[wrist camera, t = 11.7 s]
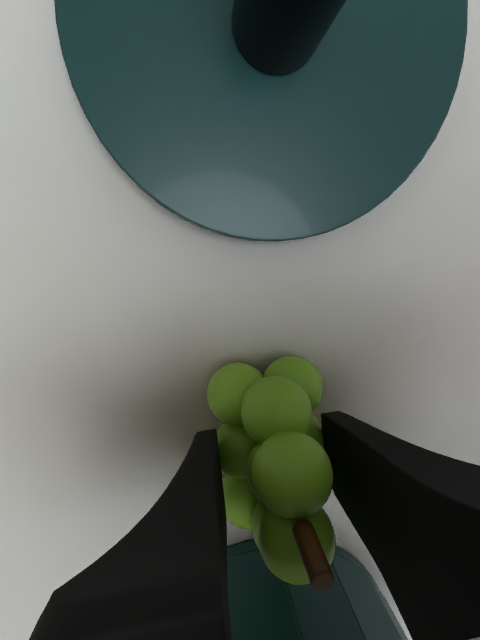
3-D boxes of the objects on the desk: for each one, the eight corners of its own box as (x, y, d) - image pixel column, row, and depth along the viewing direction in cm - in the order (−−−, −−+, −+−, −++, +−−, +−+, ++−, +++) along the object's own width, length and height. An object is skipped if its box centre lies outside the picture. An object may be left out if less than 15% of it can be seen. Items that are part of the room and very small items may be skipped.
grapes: (316, 488, 14) (410, 672, 8) (219, 504, 13) (240, 711, 7) (310, 345, 12) (415, 434, 7) (202, 358, 12) (212, 467, 6)
